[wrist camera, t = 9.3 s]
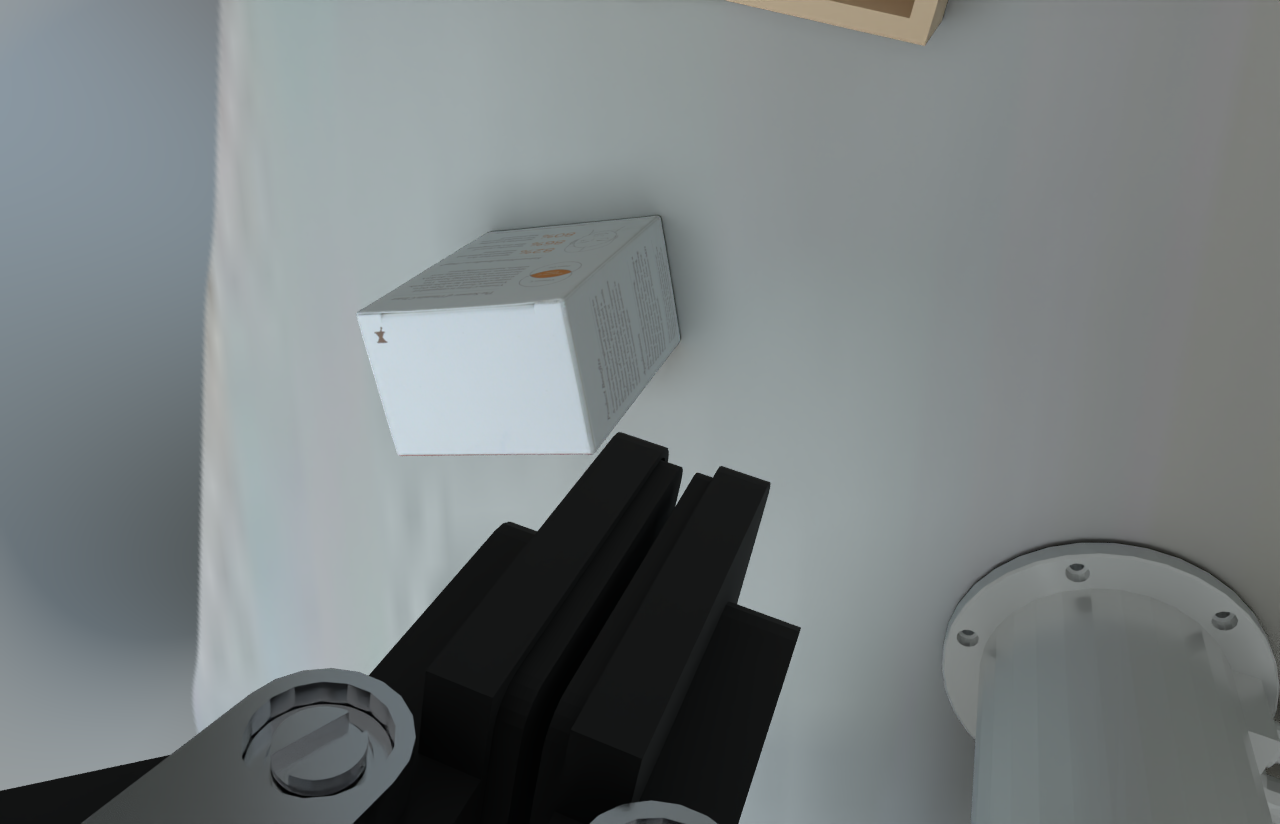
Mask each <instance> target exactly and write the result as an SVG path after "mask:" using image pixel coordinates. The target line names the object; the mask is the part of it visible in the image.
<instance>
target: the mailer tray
mask: <svg viewBox="0 0 1280 824" xmlns="http://www.w3.org/2000/svg"><path fill="white" fill-rule="evenodd" d="M726 1H730V2H735V3H739V4H743V5H748V6H752V7H757V8H761V9H765V10H770V11H774V12H778V13H783V14H787V15H792V16H796V17H800V18H805V19H809V20H813V21H818V22H822V23H827V24H831V25H835V26H840V27H844V28H848V29H853V30H857V31H861V32H866V33H870V34H875V35H879V36H883V37H888V38H892V39H896V40H901V41H905V42H910V43H914V44H918V45H923V46H925V45H926V43H927V42H928V40H929V39H930V37H931V36H932V34H933V33H934V32H935V30H936V29H937V27H938V26H939V24H940V23H941V21H942V19H943V16H944V12H945V9H946V6H947V2H948V0H726Z"/></svg>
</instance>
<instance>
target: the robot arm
mask: <svg viewBox="0 0 1280 824" xmlns="http://www.w3.org/2000/svg"><path fill="white" fill-rule="evenodd" d="M668 455H669V451H668V448H666V447H663V446H660V445H657V444H654V443H651V442H648V441H645V440H642V439H639V438H636V437H633V436H630V435H627V434H624V433H621V432H618V433H617V434H616V435H615V436H614V437H613V438H612V439H611V440H610V442H609V443H608V444H607V445H606V447H605V448H604V449H603V450H602V452H601V453H600V454H599V455H598V457H597V458H596V459H595V460H594V462H593V463H592V464H591V465H590V467H589V468H588V469H587V470H586V472H585V473H584V474H583V475H582V477H581V478H580V479H579V480H578V481H577V483H576V484H575V485H574V486H573V488H572V489H571V490H570V491H569V493H568V494H567V495H566V496H565V498H564V499H563V500H562V501H561V503H560V504H559V505H558V506H557V508H556V509H555V510H554V511H553V513H552V514H551V515H550V516H549V518H548V519H547V520H546V521H545V523H544V524H543V525H542V526H541V528H540V529H539V530H538V531H534V530H532V529H529V528H526V527H523V526H521V525H518V524H515V523H512V522H507V523H503V524H502V525H501V526H500V527H499V528H498V529H496V530H495V531H494V532H493V534H492V535H491V536H490V537H489V538H488V539H487V541H486V542H485V543H484V544H483V545H482V546H481V547H480V549H479V550H478V551H477V552H476V553H475V554H474V555H473V557H472V558H471V559H470V560H469V561H468V562H467V563H466V565H465V566H464V567H463V568H462V569H461V570H460V571H459V573H458V574H457V575H456V576H455V577H454V578H453V579H452V581H451V582H450V583H449V584H448V585H447V586H446V588H445V589H444V590H443V591H442V592H441V593H440V594H439V596H438V597H437V598H436V599H435V600H434V601H433V602H432V604H431V605H430V606H429V607H428V608H427V609H426V610H425V612H424V613H423V614H422V615H421V616H420V617H419V618H418V620H417V621H416V622H415V623H414V624H413V625H412V627H411V628H410V629H409V630H408V631H407V632H406V633H405V635H404V636H403V637H402V638H401V639H400V640H399V641H398V643H397V644H396V645H395V646H394V647H393V648H392V649H391V651H390V652H389V653H388V654H387V655H386V656H385V657H384V659H383V660H382V661H381V662H380V663H379V664H378V665H377V667H376V668H375V669H374V670H373V671H372V672H371V674H370V675H369V676H368V675H365V674H363V673H360V672H356V671H349V670H341V669H334V668H328V669H316V670H304V671H300V672H297V673H294V674H290V675H287V676H284V677H281V678H277V679H275V680H273V681H271V682H270V683H268V684H266V685H265V686H263V687H261V688H259V689H258V690H256V691H254V692H253V693H251V694H250V695H248V696H247V697H246V698H244V699H243V700H242V701H240V702H239V703H238V704H236V705H235V706H234V707H233V708H231V709H230V710H229V711H227V712H226V713H225V714H223V715H222V716H221V717H219V718H218V719H217V720H216V721H214V722H213V723H212V724H210V725H209V726H208V727H206V728H205V729H204V730H202V731H201V732H200V733H199V734H197V735H196V736H195V737H194V738H192V739H191V740H189V741H188V742H187V743H186V744H184V745H183V746H181V747H180V748H179V749H178V750H176V751H175V752H174V753H172V754H171V755H168V756H163V757H158V758H154V759H149V760H144V761H139V762H135V763H130V764H126V765H120V766H116V767H111V768H106V769H102V770H97V771H92V772H87V773H83V774H78V775H73V776H69V777H64V778H59V779H55V780H50V781H45V782H41V783H35V784H31V785H26V786H22V787H17V788H12V789H7V790H2V791H0V824H738V823H739V820H740V817H741V813H742V810H743V807H744V804H745V801H746V798H747V795H748V792H749V788H750V785H751V782H752V779H753V776H754V773H755V770H756V767H757V764H758V760H759V757H760V754H761V751H762V748H763V745H764V742H765V739H766V735H767V732H768V729H769V726H770V723H771V720H772V717H773V714H774V710H775V707H776V704H777V701H778V698H779V695H780V692H781V689H782V685H783V682H784V679H785V676H786V673H787V670H788V667H789V664H790V661H791V657H792V654H793V651H794V648H795V645H796V642H797V639H798V636H799V632H800V629H801V628H800V627H798V626H795V625H792V624H789V623H787V622H784V621H781V620H778V619H776V618H773V617H770V616H767V615H765V614H762V613H759V612H756V611H754V610H751V609H748V608H745V607H743V606H740V605H737V602H738V598H739V595H740V591H741V588H742V585H743V581H744V578H745V574H746V571H747V567H748V564H749V560H750V557H751V553H752V550H753V546H754V543H755V539H756V536H757V532H758V529H759V525H760V522H761V518H762V515H763V511H764V508H765V504H766V501H767V497H768V494H769V489H770V482H767V481H764V480H762V479H759V478H756V477H753V476H750V475H747V474H744V473H741V472H738V471H735V470H732V469H729V468H726V467H723V466H720V467H719V468H718V470H717V471H716V473H715V475H714V477H713V478H712V477H709V476H706V475H703V474H701V473H696V474H695V475H694V477H693V478H692V480H691V482H690V483H689V485H688V487H687V488H686V490H685V492H684V493H683V495H682V497H681V498H680V500H679V502H678V503H677V505H676V501H677V496H678V492H679V488H680V484H681V479H682V472H683V469H682V467H680V466H677V465H674V464H671V463H668ZM675 505H676V507H675ZM1075 563H1077V564H1078V565H1076V564H1075ZM942 674H943V680H944V687H945V691H946V694H947V696H948V699H949V701H950V704H951V706H952V709H953V711H954V713H955V715H956V716H957V718H958V719H959V721H960V722H961V724H962V725H963V727H964V728H965V730H966V731H967V732H968V733H969V735H970V736H971V737H972V738H973V739H974V740H975V758H974V775H973V793H972V810H971V824H1280V779H1279V778H1276V777H1274V776H1271V775H1268V774H1266V770H1265V768H1266V767H1268V768H1269V767H1271V766H1272V765H1274V764H1275V763H1277V764H1280V723H1279V722H1277V721H1275V720H1273V718H1274V716H1275V714H1276V711H1277V704H1278V697H1279V690H1280V685H1279V678H1278V671H1277V664H1276V660H1275V657H1274V654H1273V651H1272V648H1271V645H1270V643H1269V640H1268V637H1267V635H1266V633H1265V632H1264V630H1263V628H1262V626H1261V625H1260V623H1259V621H1258V619H1257V618H1256V616H1255V614H1254V613H1253V612H1252V611H1251V610H1250V608H1249V607H1248V606H1247V605H1246V604H1245V603H1244V602H1243V601H1242V600H1241V599H1240V598H1239V596H1238V595H1237V594H1236V593H1235V592H1234V591H1232V590H1231V589H1230V588H1228V587H1227V586H1226V585H1224V584H1223V583H1222V582H1220V581H1219V580H1218V579H1216V578H1215V577H1214V576H1212V575H1211V574H1210V573H1208V572H1206V571H1204V570H1202V569H1200V568H1198V567H1196V566H1194V565H1192V564H1190V563H1188V562H1186V561H1184V560H1182V559H1180V558H1177V557H1173V556H1170V555H1167V554H1164V553H1161V552H1158V551H1155V550H1151V549H1148V548H1142V547H1136V546H1130V545H1123V544H1117V543H1075V544H1068V545H1061V546H1054V547H1048V548H1045V549H1042V550H1038V551H1035V552H1032V553H1029V554H1025V555H1022V556H1019V557H1017V558H1015V559H1013V560H1011V561H1009V562H1008V563H1006V564H1004V565H1002V566H1000V567H998V568H996V569H994V570H993V571H992V572H990V573H989V574H988V575H986V576H985V577H984V578H982V579H981V580H980V581H979V582H977V583H976V584H975V585H974V586H973V587H972V588H971V589H970V590H969V592H968V593H967V594H966V595H965V596H964V598H963V599H962V600H961V601H960V602H959V604H958V605H957V607H956V609H955V611H954V613H953V615H952V617H951V619H950V621H949V623H948V627H947V631H946V636H945V640H944V645H943V658H942Z"/></svg>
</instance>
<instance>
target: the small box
mask: <svg viewBox="0 0 1280 824" xmlns="http://www.w3.org/2000/svg"><path fill="white" fill-rule="evenodd" d="M356 316H357V319H358V323H359V327H360V330H361V333H362V337H363V341H364V344H365V348H366V351H367V354H368V358H369V361H370V365H371V368H372V371H373V375H374V378H375V381H376V385H377V388H378V392H379V395H380V398H381V402H382V405H383V408H384V412H385V415H386V419H387V422H388V426H389V429H390V432H391V435H392V439H393V441H394V444H395V447H396V452H397V454H398V455H399V456H442V455H545V454H553V455H569V454H587V455H592V454H594V453H595V452H596V451H597V449H598V448H599V447H600V445H601V444H602V443H603V441H604V440H605V439H606V438H607V436H608V435H609V434H610V432H611V431H612V430H613V428H614V427H615V426H616V424H617V423H618V422H619V420H620V419H621V418H622V417H623V415H624V414H625V413H626V411H627V410H628V409H629V407H630V406H631V405H632V404H633V402H634V401H635V400H636V398H637V397H638V396H639V394H640V393H641V392H642V390H643V389H644V388H645V386H646V385H647V384H648V383H649V381H650V380H651V379H652V377H653V376H654V375H655V373H656V372H657V371H658V370H659V368H660V367H661V366H662V364H663V363H664V362H665V360H666V359H667V358H668V356H669V355H670V354H671V352H672V351H673V350H674V349H675V347H676V346H677V345H678V343H679V342H680V334H679V327H678V321H677V315H676V308H675V302H674V295H673V289H672V283H671V277H670V271H669V264H668V258H667V252H666V246H665V240H664V235H663V229H662V222H661V218H660V217H659V216H649V217H639V218H629V219H620V220H610V221H599V222H589V223H579V224H569V225H558V226H547V227H538V228H529V229H518V230H508V231H493V232H488V233H486V234H485V235H483V236H481V237H479V238H478V239H476V240H475V241H473V242H471V243H470V244H468V245H466V246H464V247H463V248H461V249H459V250H458V251H456V252H454V253H453V254H451V255H449V256H448V257H446V258H445V259H443V260H441V261H440V262H438V263H437V264H435V265H433V266H431V267H430V268H428V269H427V270H425V271H423V272H422V273H420V274H419V275H417V276H415V277H414V278H412V279H410V280H409V281H407V282H406V283H404V284H402V285H401V286H399V287H398V288H396V289H395V290H393V291H391V292H390V293H388V294H386V295H385V296H383V297H381V298H380V299H378V300H376V301H375V302H373V303H372V304H370V305H368V306H367V307H365V308H363V309H361V310H360V311H358V312H357V314H356Z"/></svg>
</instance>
